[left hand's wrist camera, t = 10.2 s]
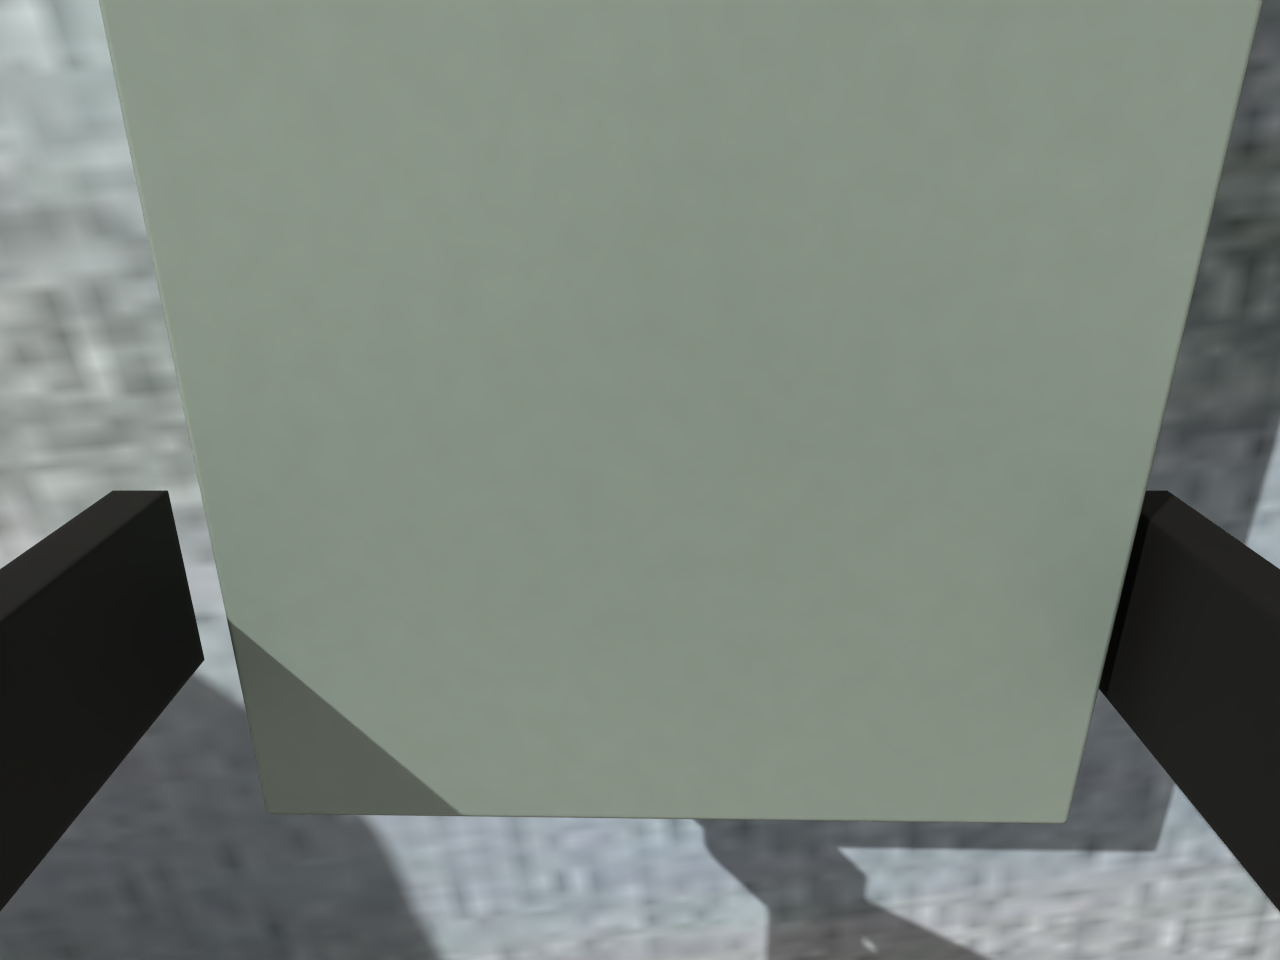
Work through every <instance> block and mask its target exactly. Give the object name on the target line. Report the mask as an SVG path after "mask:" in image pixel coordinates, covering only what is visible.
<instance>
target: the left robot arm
mask: <svg viewBox="0 0 1280 960" xmlns="http://www.w3.org/2000/svg"><path fill="white" fill-rule="evenodd" d="M203 661H204V655H203V651H202V646H201V642H200V637H199V632H198V628H197V623H196V618H195V614H194V609H193V605H192V600H191V595H190V591H189V586H188V582H187V577H186V572H185V568H184V563H183V558H182V554H181V549H180V545H179V540H178V535H177V531H176V526H175V521H174V517H173V512H172V508H171V503H170V498H169V494H168V491H112V492H110V493H109V494H107V495H106V496H105V497H103V498H102V499H100V500H99V501H97V502H96V503H94V504H93V505H92V506H90V507H89V508H87V509H86V510H84V511H83V512H82V513H80V514H79V515H77V516H76V517H74V518H73V519H72V520H70V521H69V522H67V523H66V524H64V525H63V526H62V527H60V528H59V529H57V530H56V531H54V532H53V533H52V534H50V535H49V536H47V537H46V538H44V539H43V540H42V541H40V542H39V543H37V544H36V545H34V546H33V547H32V548H30V549H29V550H27V551H26V552H24V553H23V554H22V555H20V556H19V557H17V558H16V559H14V560H13V561H11V562H10V563H9V564H7V565H6V566H4V567H3V568H1V569H0V911H1V910H2V909H3V907H4V906H5V905H6V904H7V902H8V901H9V900H10V899H11V898H12V896H13V895H14V894H15V893H16V891H17V890H18V889H19V888H20V886H21V885H22V884H23V883H24V881H25V880H26V879H27V878H28V877H29V875H30V874H31V873H32V872H33V870H34V869H35V868H36V867H37V865H38V864H39V863H40V862H41V861H42V859H43V858H44V857H45V856H46V854H47V853H48V852H49V851H50V849H51V848H52V847H53V846H54V844H55V843H56V842H57V841H58V840H59V838H60V837H61V836H62V835H63V833H64V832H65V831H66V830H67V828H68V827H69V826H70V825H71V824H72V822H73V821H74V820H75V819H76V817H77V816H78V815H79V814H80V812H81V811H82V810H83V809H84V807H85V806H86V805H87V804H88V803H89V801H90V800H91V799H92V798H93V796H94V795H95V794H96V793H97V791H98V790H99V789H100V788H101V787H102V785H103V784H104V783H105V782H106V780H107V779H108V778H109V777H110V775H111V774H112V773H113V772H114V770H115V769H116V768H117V767H118V766H119V764H120V763H121V762H122V761H123V759H124V758H125V757H126V756H127V754H128V753H129V752H130V751H131V750H132V748H133V747H134V746H135V745H136V743H137V742H138V741H139V740H140V738H141V737H142V736H143V735H144V733H145V732H146V731H147V730H148V729H149V727H150V726H151V725H152V724H153V722H154V721H155V720H156V719H157V717H158V716H159V715H160V714H161V713H162V711H163V710H164V709H165V708H166V706H167V705H168V704H169V703H170V701H171V700H172V699H173V698H174V696H175V695H176V694H177V693H178V692H179V690H180V689H181V688H182V687H183V685H184V684H185V683H186V682H187V680H188V679H189V678H190V677H191V676H192V674H193V673H194V672H195V671H196V669H197V668H198V667H199V666H200V664H201V663H202V662H203ZM1099 689H1100V690H1101V692H1102V693H1103V694H1104V695H1105V696H1106V698H1107V699H1108V700H1109V701H1110V703H1111V704H1112V705H1113V706H1114V708H1115V709H1116V710H1117V711H1118V713H1119V714H1120V715H1121V716H1122V717H1123V719H1124V720H1125V721H1126V722H1127V724H1128V725H1129V726H1130V727H1131V729H1132V730H1133V731H1134V732H1135V733H1136V735H1137V736H1138V737H1139V738H1140V740H1141V741H1142V742H1143V743H1144V745H1145V746H1146V747H1147V748H1148V750H1149V751H1150V752H1151V753H1152V754H1153V756H1154V757H1155V758H1156V759H1157V761H1158V762H1159V763H1160V764H1161V766H1162V767H1163V768H1164V769H1165V770H1166V772H1167V773H1168V774H1169V775H1170V777H1171V778H1172V779H1173V780H1174V782H1175V783H1176V784H1177V785H1178V787H1179V788H1180V789H1181V790H1182V791H1183V793H1184V794H1185V795H1186V796H1187V798H1188V799H1189V800H1190V801H1191V803H1192V804H1193V805H1194V806H1195V807H1196V809H1197V810H1198V811H1199V812H1200V814H1201V815H1202V816H1203V817H1204V819H1205V820H1206V821H1207V822H1208V824H1209V825H1210V826H1211V827H1212V828H1213V830H1214V831H1215V832H1216V833H1217V835H1218V836H1219V837H1220V838H1221V840H1222V841H1223V842H1224V843H1225V844H1226V846H1227V847H1228V848H1229V849H1230V851H1231V852H1232V853H1233V854H1234V856H1235V857H1236V858H1237V859H1238V861H1239V862H1240V863H1241V864H1242V865H1243V867H1244V868H1245V869H1246V870H1247V872H1248V873H1249V874H1250V875H1251V877H1252V878H1253V879H1254V880H1255V881H1256V883H1257V884H1258V885H1259V886H1260V888H1261V889H1262V890H1263V891H1264V893H1265V894H1266V895H1267V896H1268V898H1269V899H1270V900H1271V901H1272V902H1273V904H1274V905H1275V906H1276V907H1277V909H1278V910H1279V911H1280V569H1279V568H1277V567H1276V566H1274V565H1273V564H1271V563H1270V562H1269V561H1267V560H1266V559H1264V558H1263V557H1261V556H1260V555H1258V554H1257V553H1256V552H1254V551H1253V550H1251V549H1250V548H1248V547H1247V546H1246V545H1244V544H1243V543H1241V542H1240V541H1238V540H1237V539H1236V538H1234V537H1233V536H1231V535H1230V534H1228V533H1227V532H1226V531H1224V530H1223V529H1221V528H1220V527H1218V526H1217V525H1216V524H1214V523H1213V522H1211V521H1210V520H1208V519H1207V518H1206V517H1204V516H1203V515H1201V514H1200V513H1198V512H1197V511H1196V510H1194V509H1193V508H1191V507H1190V506H1188V505H1187V504H1186V503H1184V502H1183V501H1181V500H1180V499H1178V498H1177V497H1175V496H1174V495H1173V494H1171V493H1170V492H1168V491H1146V492H1145V496H1144V501H1143V505H1142V509H1141V513H1140V517H1139V521H1138V526H1137V530H1136V534H1135V538H1134V542H1133V547H1132V551H1131V555H1130V559H1129V563H1128V568H1127V572H1126V576H1125V580H1124V584H1123V588H1122V593H1121V597H1120V601H1119V605H1118V609H1117V614H1116V618H1115V622H1114V626H1113V630H1112V635H1111V639H1110V643H1109V647H1108V651H1107V655H1106V660H1105V664H1104V668H1103V672H1102V676H1101V681H1100V685H1099Z"/></svg>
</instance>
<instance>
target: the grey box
mask: <svg viewBox="0 0 1280 960" xmlns="http://www.w3.org/2000/svg"><path fill="white" fill-rule="evenodd" d="M1262 2H1263V0H99V4H100V8H101V13H102V18H103V23H104V28H105V33H106V37H107V42H108V47H109V52H110V57H111V62H112V66H113V71H114V76H115V81H116V86H117V90H118V95H119V100H120V105H121V110H122V115H123V119H124V124H125V129H126V134H127V139H128V144H129V148H130V153H131V158H132V163H133V168H134V172H135V177H136V182H137V187H138V192H139V197H140V201H141V206H142V211H143V216H144V221H145V226H146V230H147V235H148V240H149V245H150V250H151V254H152V259H153V264H154V269H155V274H156V279H157V283H158V288H159V293H160V298H161V303H162V308H163V312H164V317H165V322H166V327H167V332H168V336H169V341H170V346H171V351H172V356H173V361H174V365H175V370H176V375H177V380H178V385H179V390H180V394H181V399H182V404H183V409H184V414H185V418H186V423H187V428H188V433H189V438H190V443H191V447H192V452H193V457H194V462H195V467H196V471H197V476H198V481H199V486H200V491H201V496H202V500H203V505H204V510H205V515H206V520H207V525H208V529H209V534H210V539H211V544H212V549H213V553H214V558H215V563H216V568H217V573H218V578H219V582H220V587H221V592H222V597H223V602H224V607H225V611H226V616H227V621H228V626H229V631H230V635H231V640H232V645H233V650H234V655H235V660H236V664H237V669H238V674H239V679H240V684H241V689H242V693H243V698H244V703H245V708H246V713H247V717H248V722H249V727H250V732H251V737H252V742H253V746H254V751H255V756H256V761H257V766H258V771H259V775H260V780H261V785H262V790H263V795H264V799H265V804H266V809H267V811H268V812H269V813H272V814H336V815H415V816H494V817H572V818H651V819H730V820H809V821H888V822H967V823H1046V824H1062V823H1065V822H1066V821H1067V819H1068V815H1069V810H1070V806H1071V802H1072V798H1073V794H1074V789H1075V785H1076V781H1077V777H1078V773H1079V769H1080V764H1081V760H1082V756H1083V752H1084V748H1085V743H1086V739H1087V735H1088V731H1089V727H1090V722H1091V718H1092V714H1093V710H1094V706H1095V702H1096V697H1097V693H1098V689H1099V685H1100V681H1101V676H1102V672H1103V668H1104V664H1105V660H1106V655H1107V651H1108V647H1109V643H1110V639H1111V635H1112V630H1113V626H1114V622H1115V618H1116V614H1117V609H1118V605H1119V601H1120V597H1121V593H1122V588H1123V584H1124V580H1125V576H1126V572H1127V568H1128V563H1129V559H1130V555H1131V551H1132V547H1133V542H1134V538H1135V534H1136V530H1137V526H1138V521H1139V517H1140V513H1141V509H1142V505H1143V501H1144V496H1145V492H1146V488H1147V484H1148V480H1149V475H1150V471H1151V467H1152V463H1153V459H1154V454H1155V450H1156V446H1157V442H1158V438H1159V434H1160V429H1161V425H1162V421H1163V417H1164V413H1165V408H1166V404H1167V400H1168V396H1169V392H1170V387H1171V383H1172V379H1173V375H1174V371H1175V367H1176V362H1177V358H1178V354H1179V350H1180V346H1181V341H1182V337H1183V333H1184V329H1185V325H1186V320H1187V316H1188V312H1189V308H1190V304H1191V300H1192V295H1193V291H1194V287H1195V283H1196V279H1197V274H1198V270H1199V266H1200V262H1201V258H1202V253H1203V249H1204V245H1205V241H1206V237H1207V233H1208V228H1209V224H1210V220H1211V216H1212V212H1213V207H1214V203H1215V199H1216V195H1217V191H1218V186H1219V182H1220V178H1221V174H1222V170H1223V166H1224V161H1225V157H1226V153H1227V149H1228V145H1229V140H1230V136H1231V132H1232V128H1233V124H1234V119H1235V115H1236V111H1237V107H1238V103H1239V99H1240V94H1241V90H1242V86H1243V82H1244V78H1245V73H1246V69H1247V65H1248V61H1249V57H1250V53H1251V48H1252V44H1253V40H1254V36H1255V32H1256V27H1257V23H1258V19H1259V15H1260V11H1261V6H1262Z"/></svg>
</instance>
